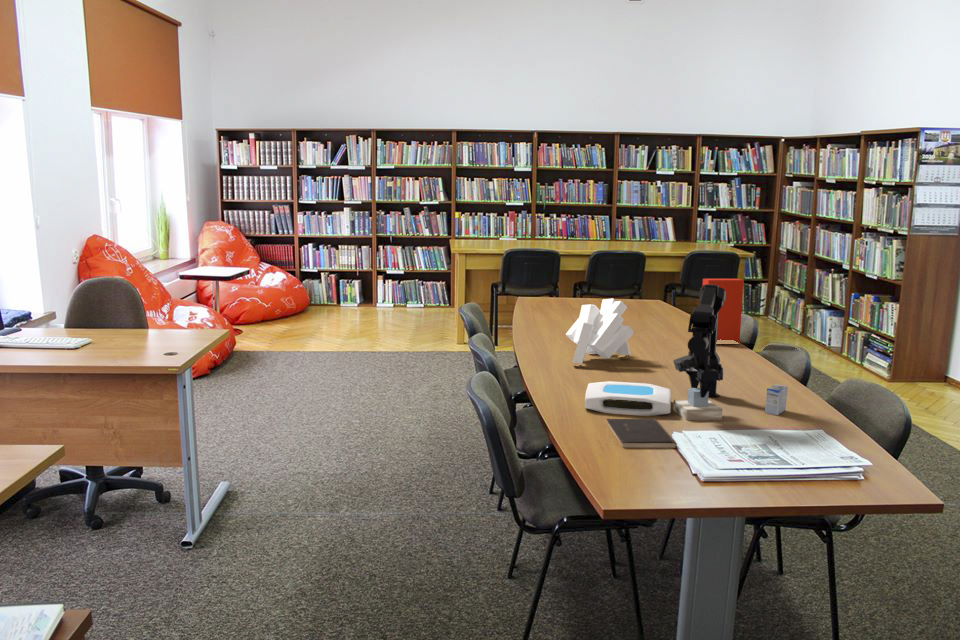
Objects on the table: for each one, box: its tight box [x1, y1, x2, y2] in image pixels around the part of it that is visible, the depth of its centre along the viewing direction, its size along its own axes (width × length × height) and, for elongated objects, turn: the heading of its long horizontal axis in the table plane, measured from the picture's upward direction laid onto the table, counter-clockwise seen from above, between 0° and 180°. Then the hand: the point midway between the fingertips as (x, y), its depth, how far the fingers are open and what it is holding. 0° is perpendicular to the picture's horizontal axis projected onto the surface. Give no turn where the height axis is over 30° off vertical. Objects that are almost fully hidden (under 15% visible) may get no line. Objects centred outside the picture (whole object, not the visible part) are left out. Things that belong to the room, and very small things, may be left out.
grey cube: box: [687, 387, 710, 407], centre depth 252 cm, size 5×5×5 cm
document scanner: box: [584, 381, 672, 417], centre depth 262 cm, size 21×28×6 cm
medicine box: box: [764, 383, 788, 416], centre depth 256 cm, size 8×4×9 cm, turn 141°
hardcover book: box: [606, 418, 678, 449], centre depth 230 cm, size 16×23×2 cm
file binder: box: [701, 278, 744, 344], centre depth 373 cm, size 8×17×32 cm, turn 95°
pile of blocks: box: [565, 297, 635, 365], centre depth 333 cm, size 35×30×35 cm
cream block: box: [672, 399, 723, 421], centre depth 252 cm, size 12×12×4 cm
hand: (698, 394), depth 251 cm, fingers open, 7 cm apart
